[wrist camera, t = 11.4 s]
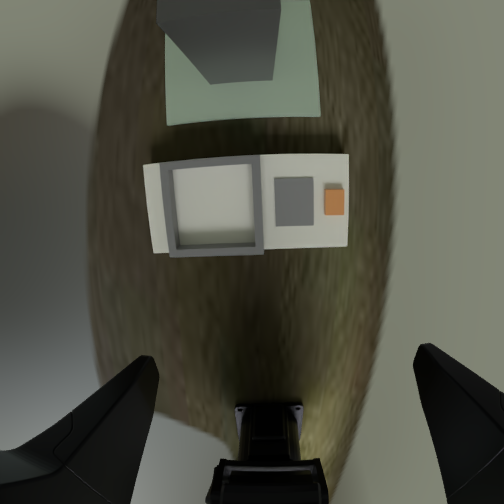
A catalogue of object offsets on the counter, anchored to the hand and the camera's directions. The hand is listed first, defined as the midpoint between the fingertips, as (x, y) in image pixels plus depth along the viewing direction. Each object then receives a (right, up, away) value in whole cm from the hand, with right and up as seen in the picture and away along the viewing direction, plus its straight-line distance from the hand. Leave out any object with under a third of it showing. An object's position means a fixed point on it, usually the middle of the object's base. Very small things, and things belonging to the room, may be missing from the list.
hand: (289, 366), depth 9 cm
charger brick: (-2, +16, +7) cm, 18 cm away
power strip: (-1, +7, +11) cm, 13 cm away
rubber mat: (-2, +17, +8) cm, 18 cm away
